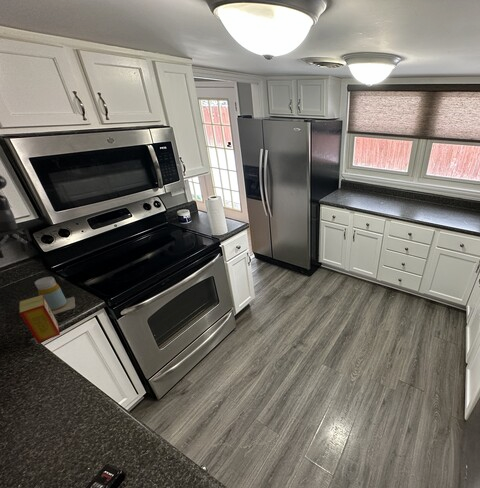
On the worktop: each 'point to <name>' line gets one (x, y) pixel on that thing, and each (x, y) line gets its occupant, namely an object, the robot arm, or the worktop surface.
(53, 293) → the bottle
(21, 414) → the worktop surface
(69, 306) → the mat
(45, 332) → the baking soda box
